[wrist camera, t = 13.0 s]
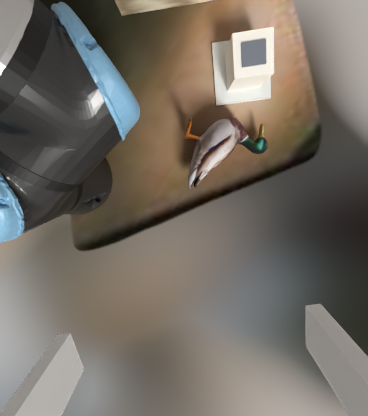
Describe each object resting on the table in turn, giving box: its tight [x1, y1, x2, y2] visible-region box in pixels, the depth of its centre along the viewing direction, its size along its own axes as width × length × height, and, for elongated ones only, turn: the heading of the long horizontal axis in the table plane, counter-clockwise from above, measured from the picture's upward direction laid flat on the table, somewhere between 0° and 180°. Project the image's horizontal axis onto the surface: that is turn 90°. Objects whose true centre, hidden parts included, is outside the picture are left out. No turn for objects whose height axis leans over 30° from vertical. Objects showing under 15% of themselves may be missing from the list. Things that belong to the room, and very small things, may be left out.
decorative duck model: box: [185, 117, 267, 189], centre depth 36 cm, size 15×8×15 cm
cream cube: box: [225, 27, 274, 92], centre depth 32 cm, size 6×6×6 cm
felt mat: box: [212, 40, 271, 106], centre depth 36 cm, size 10×10×1 cm
